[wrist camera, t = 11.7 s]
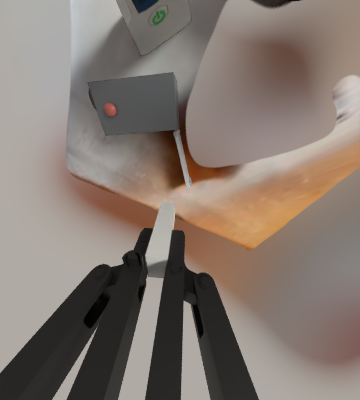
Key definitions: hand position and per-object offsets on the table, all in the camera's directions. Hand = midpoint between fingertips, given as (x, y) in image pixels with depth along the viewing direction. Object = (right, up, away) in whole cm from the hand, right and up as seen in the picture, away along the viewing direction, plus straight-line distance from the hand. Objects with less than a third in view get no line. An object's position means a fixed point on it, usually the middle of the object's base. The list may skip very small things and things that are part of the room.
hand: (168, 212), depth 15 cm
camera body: (-8, +27, +22) cm, 36 cm away
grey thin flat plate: (+3, +16, +28) cm, 32 cm away
